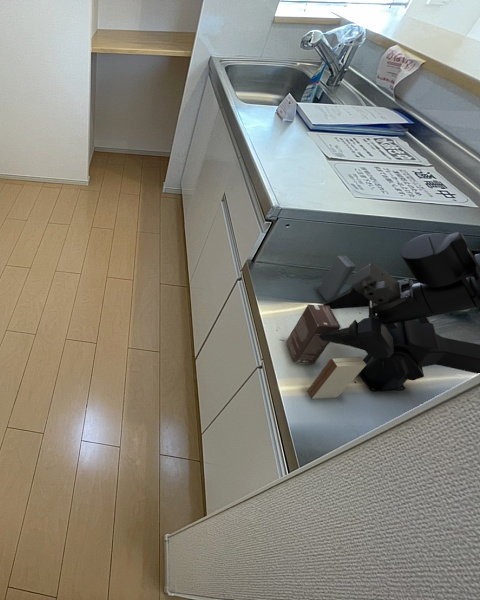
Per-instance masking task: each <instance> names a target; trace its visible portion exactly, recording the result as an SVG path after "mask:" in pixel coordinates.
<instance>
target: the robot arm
mask: <svg viewBox="0 0 480 600" xmlns="http://www.w3.org/2000/svg"><path fill="white" fill-rule="evenodd" d="M399 255H400V256H401V258H402V259H403V261H404V263H405V264H406V266H407V267H408V269H409V270H410V271H409V272H410V273H412V276H413V277H414V278H415V280H416V281H417V282H415V283H414V281H413V280H412V279H411V278H410V279H408V278H404V279H400V280H397V279H396V278H394V277H393V276H392V274H390V273H388V272H386V271H385V270H383V269H382V268H381V267H379V266H377V265H376V264H374V263H369V264H367V265H366V266H364V267H363V268H361V269H359V270H357V271H356V272H354V273H353V274H352V277H353V282H352V284H351V286H350V287H349V288H348V289H346V290H345V291H343V292H342V293H339V294H338V295H337V296H336V297H335V298H333V299H331V300H329V301H325V302H323V304H322V305H325V306H330V308H331V310H338V309H352V308H353V309H354V308H367V307H368V317H365V318H363V319H361V320H359V321H357V319H354V320H353V321H352V323H351V324H350V325H349V326H348V327H344V328H340V329H339V330H335V331H331V332H327V333H324V334H321V335H319V338H320V339H321V340H323V341H328V342H330V343H334V344H338V345H341V346H347V347H351V348H354V349H358V350H361V351H365V353H366V356H364V357H363V358H362V360H363V361H364V362H365V363H366V366H365V367H364V368H363V369H362V370H361V371H360V373H359V374H358V376H359V377H360V378H361V379H362V381H363V382H364V384H365V385H366V387H367V388H368V389H369V391H370V392H372V393H384V392H386V393H387V392H403V391H405V390H406V386H405V385H404V384H405V383H406V382H407V381H413V382H414V381H417V380H418V379H421V378H423V377H425V374H424V369H423V368H425V367H429V366H430V367H431V366H441V367H445V368H450V369H455V370H459V371H464V372H468V373H472V374H476V375H477V374H478V373H480V343H474V342H469V341H465V340H459V339H453V338H448V337H445V336H442V335H439V334H437V333H436V329H435V326H434V323H432V322H430V317H435V316H441V315H446V314H451V313H457V312H463V311H468V310H474V309H478V311H479V312H480V249H479V248H469V247H468V243H467V241H466V239H465V237H464V235H463V234H462V232H461V231H457V232H454V233H450V234H447V233H443V232H436V233H429V234H428V233H425V234H421V235H419V236H416V237H414V238H412V239H410V240H409V241H407V242H406V243H405V244H403V245H402V247H401V248H400V251H399ZM415 319H418V320H419V321H415ZM478 375H479V374H478Z"/></svg>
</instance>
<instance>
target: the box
mask: <svg viewBox="0 0 480 600" xmlns="http://www.w3.org/2000/svg"><path fill="white" fill-rule="evenodd" d="M339 329H342V327H341V325H340V323H339V321H338V319H337V317H336V316H335V313H334V312H333V309H331V308H330V306H325V305H323V304H311V303H309V304H307V305H306V307H305V308H304V311H303V312H302V314H301V316H300V317H299V318H298V320H297V322H296V325H295V326H294V327H293V329H292V331H291V332H290V334H289V336H288V337H287V339H286V341H285V344H286V346H287V348H288V351H289V354H290V357H291V359H292V362H293V363H294V364H302V365H315V363H316V362H317V361H318V359H319V358H320V357H321V355H322V354H323V352H324V351H325V350H326V349H327V347H328V346H329V344H330V343H331V342H328V341H323V340H321V339H320V338H319V335H321V334H324V333H327V332H331V331H335V330H339Z"/></svg>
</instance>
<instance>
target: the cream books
mask: <svg viewBox="0 0 480 600" xmlns="http://www.w3.org/2000/svg"><path fill="white" fill-rule="evenodd" d="M365 366H366V363H365V362H364V361H363V358H362V357H361V356H354V357H339V358H338V357H336V358H334V357H333V358H330V359H329V361H328V362H327V363H326V364H325V366H324V367H323V368H322V370H321V372H320V373H319V374H318V375H317V376H316V378H315V380H314V381H313V382H312V383H311V385H310V386H309V387H308V389H307V390H306V392H307V394H308V396H309V398H310V399H311V400H313V399H330V398H332V399H333V398H339V397H340V395H341V394H342V393H343V392H344V391H345V390H346V388H348V386H350V384H351V383H352V382H353V381H354V379H356V378H357V376H359V373H360V371H361V370H362V369H363V368H364V367H365Z"/></svg>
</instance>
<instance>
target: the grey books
mask: <svg viewBox="0 0 480 600" xmlns="http://www.w3.org/2000/svg"><path fill="white" fill-rule="evenodd" d="M355 269H356V265H355V263H353V261H351V259H350V258H349V257H348V256H347V255H337V256H336V257H335V259H334V261H333V263H332V264H331V266H330V268H329V270H328V271H327V273H326V275H325V276H324V278H323V280H322V282H321V284H320V286H319V287H318V289H317V292H318V293H319V294H320V296H321V297H322V298H323V300H324V301H325V302H328V301H329V300H331V299H333V298H335V297H336V296H338V295H340V292H341V291H342V289H343V287H344V286H345V284H346V283H347V281H348V280H349V278H350V276H351V274H352V273H353V272H354V270H355Z"/></svg>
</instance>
